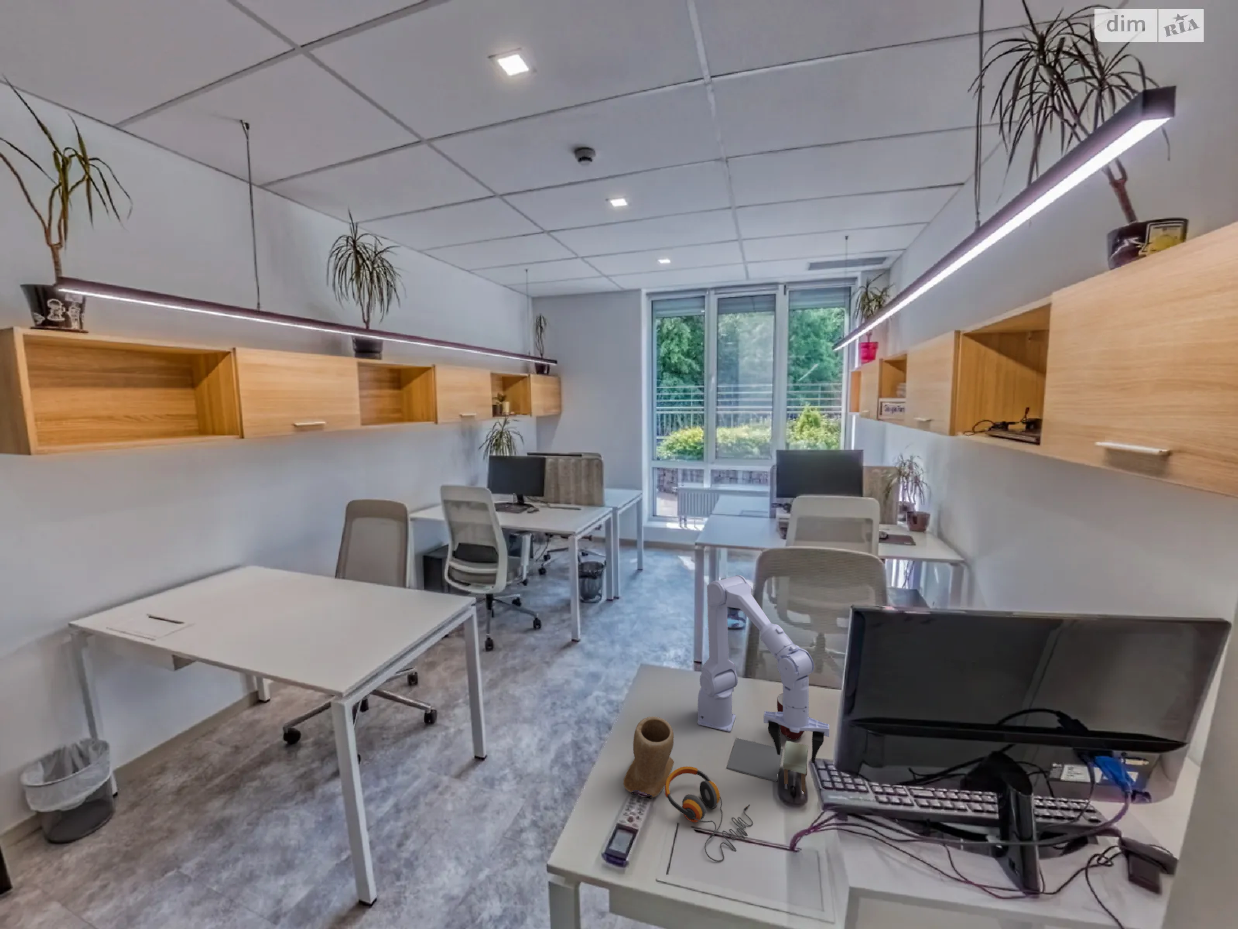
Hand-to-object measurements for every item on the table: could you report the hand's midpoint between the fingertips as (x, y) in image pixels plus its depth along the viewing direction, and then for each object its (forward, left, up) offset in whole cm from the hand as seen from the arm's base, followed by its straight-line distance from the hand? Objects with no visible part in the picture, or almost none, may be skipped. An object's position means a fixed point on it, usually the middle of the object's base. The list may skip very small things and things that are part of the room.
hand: (795, 756), depth 115 cm
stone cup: (-32, -12, -7) cm, 35 cm away
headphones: (-17, -18, -7) cm, 26 cm away
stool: (0, 0, -6) cm, 6 cm away
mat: (-10, +4, -6) cm, 13 cm away
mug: (-2, +16, -7) cm, 17 cm away
